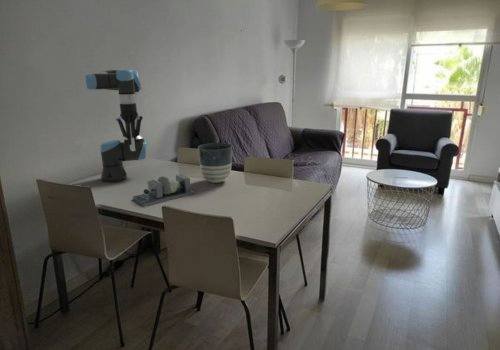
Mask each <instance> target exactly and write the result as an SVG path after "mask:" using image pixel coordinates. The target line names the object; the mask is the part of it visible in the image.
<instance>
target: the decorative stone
mask: <svg viewBox="0 0 500 350" xmlns="http://www.w3.org/2000/svg"><path fill="white" fill-rule="evenodd" d="M157 181H158V182H160V183H161V184H162V192H163V194H164V195H168V194H172V193H174V192H176V191H177V190H178V189H179V188H180V187H181V184H180V182H178V181H176V180H173V179H171V178H169V177H167V176H165V175H163V176H159V177H158V179H157Z"/></svg>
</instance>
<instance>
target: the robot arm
mask: <svg viewBox="0 0 500 350" xmlns="http://www.w3.org/2000/svg"><path fill="white" fill-rule="evenodd" d="M85 85H86V88H87V89H88V90H94V91H95V90H107V91H118V100H119V103H120V104H119V108H120V116H119V117H117V118H115V121H116V122H117V124H118V125H119V126H118V127H119V128H120V131H121V134H122V137H123V138H124V139H123V142H122V141H121V140H120V139H112V140H108V141H105V142H103V143H101V144H100V155H101V162H102V170H101V175H100V179H101V181H102V182H105V183H113V182H114V183H115V182H120V181H124V180H126V179H128V174H127V173H128V172H127V171H126V169H125V167H124V163H123V162H131V161H142V160H145V159H146V157H147V156H146V155H147V141H146V140H145V139H144V137H143V136H142V135H141V134H142V133H141V125H142V120H143V118H144V117H143V116H142V115H140V114H139V102H138V95H139V94H140V91H141V90H142V86H141V81H140V77H139V72H138V71H137V70H135V69H109V70H103V71H100V72H97V73H86V74H85Z"/></svg>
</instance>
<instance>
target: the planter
mask: <svg viewBox="0 0 500 350" xmlns="http://www.w3.org/2000/svg"><path fill="white" fill-rule="evenodd" d="M197 151H198V159H199V160H198V161H199V168H200V172H201V175H202V177H203V178H204V179H205V180H206V181H208V182H209V183H212V184H219V183H222V182H224V181H226V180H227V179H228V178H229V176H230V175H231V171H232V159H233V158H232V157H233V156H232V155H233V146H232V144H229V143H225V142H210V143H204V144H200V145H198V146H197Z"/></svg>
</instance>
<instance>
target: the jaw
mask: <svg viewBox="0 0 500 350" xmlns="http://www.w3.org/2000/svg"><path fill="white" fill-rule="evenodd" d="M148 193H149V194H150V195H152V196H154V197H156V198H157V199H158V198H162V197H163V192H162V184H161V183H160V182H158V180H156V179H154V178H152V180H147V188H145V189H144V190H143V194H148Z"/></svg>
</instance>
